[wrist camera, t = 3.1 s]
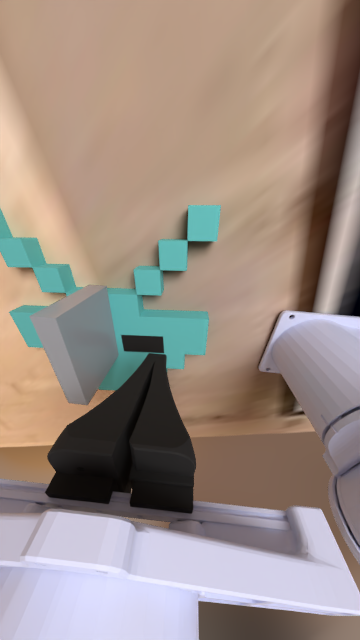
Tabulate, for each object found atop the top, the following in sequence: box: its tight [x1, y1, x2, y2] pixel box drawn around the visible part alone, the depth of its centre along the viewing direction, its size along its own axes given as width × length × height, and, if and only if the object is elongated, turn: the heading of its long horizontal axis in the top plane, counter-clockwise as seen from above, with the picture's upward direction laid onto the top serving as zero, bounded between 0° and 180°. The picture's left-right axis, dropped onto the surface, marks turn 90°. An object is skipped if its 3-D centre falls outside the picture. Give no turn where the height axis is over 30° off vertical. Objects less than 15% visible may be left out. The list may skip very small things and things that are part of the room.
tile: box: [29, 285, 119, 405], centre depth 14 cm, size 2×8×6 cm, turn 177°
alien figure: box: [0, 205, 221, 390], centre depth 18 cm, size 20×2×20 cm
